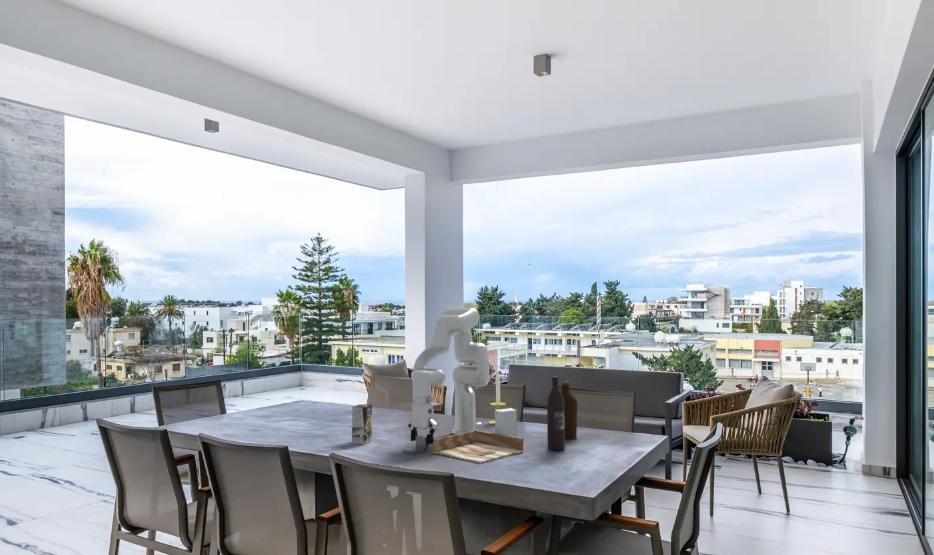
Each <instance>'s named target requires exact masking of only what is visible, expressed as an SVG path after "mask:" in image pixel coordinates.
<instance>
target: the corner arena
mask: <svg viewBox="0 0 934 555" xmlns="http://www.w3.org/2000/svg"><path fill="white" fill-rule="evenodd" d="M432 444H433V445H432V446H433V452H432V454H434V453H435V454H434V455H438V454H440V455H439V456H443V455H445V456H444V457H447V456H450V457H449V458H452V457H455V458H454V459H456V458H460V459H459V460H461V459H465V460H469V461H468V462H470V461H473V462H472V463H475V462H478V463H477V464H479V463H482V462H485V463H487V462H486V461H489V460H493V461H495V460H494V459H496V460H498V459H497V458H500V459H502V458H501V457H504V458H506V457H505V456H507V457H510V456H509V455H511V456H514V455H513V454H515V455H518V454H521V452H522V453H524V437H519V436H517V437H513V436H508V435H502V434H496V433H495V432H489V431H484V430H479V429H478V430H475V431H470V432H465V433H461V434H452V435H448V436H443V437H438V438H433V443H432ZM517 453H518V454H517ZM465 460H464V461H465ZM489 462H490V461H489ZM482 464H483V463H482Z"/></svg>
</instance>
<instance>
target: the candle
mask: <svg viewBox="0 0 934 555" xmlns="http://www.w3.org/2000/svg"><path fill="white" fill-rule="evenodd" d="M489 405H490V406H494V407H495V410H499V409H501V408H502V407H501V406H506V405H507V403H506V402H504V401H503V402H501V374H500V373H499V370H497V372H496V374H495V402H490V403H489ZM489 423H490V425H493V424H495V420H490V421H488V424H489Z"/></svg>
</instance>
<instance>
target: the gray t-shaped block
mask: <svg viewBox="0 0 934 555" xmlns="http://www.w3.org/2000/svg"><path fill="white" fill-rule="evenodd" d="M428 451H429V452H430V444H427V435H421V434H417V435H416V440H415V446H414V447H410V448H404V449H403V454H406V455H410V456H414V455H417V454H421V453H429V452H428Z"/></svg>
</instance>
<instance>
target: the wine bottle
mask: <svg viewBox="0 0 934 555" xmlns="http://www.w3.org/2000/svg"><path fill="white" fill-rule="evenodd" d="M559 379H560V378H559V376H556V375H555V376H553V375H552V376H551V381H552V382H551V383H552V384H551V389H550V392H549V394H548V396H547V398H546V416H547V417H546V419H547V421H546V424H547V426H546V427H547V428H546V429H547V438H546V439H547V450H549V451H552V452H562V451H563V450H565V448H566V446H565V444H566V443H565V441H566V439H565V428H564V399H563V396H562V394H561V389H560V388H559V381H560V380H559ZM561 450H562V451H561Z"/></svg>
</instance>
